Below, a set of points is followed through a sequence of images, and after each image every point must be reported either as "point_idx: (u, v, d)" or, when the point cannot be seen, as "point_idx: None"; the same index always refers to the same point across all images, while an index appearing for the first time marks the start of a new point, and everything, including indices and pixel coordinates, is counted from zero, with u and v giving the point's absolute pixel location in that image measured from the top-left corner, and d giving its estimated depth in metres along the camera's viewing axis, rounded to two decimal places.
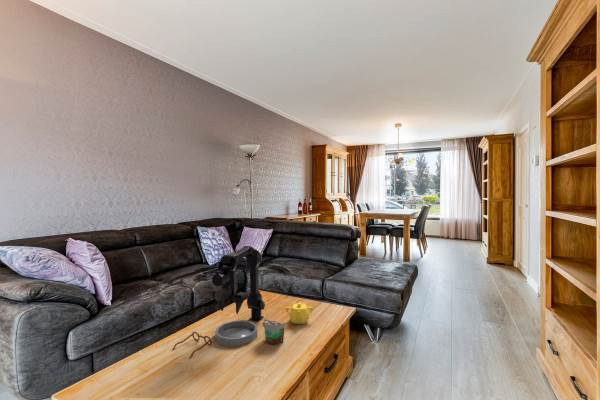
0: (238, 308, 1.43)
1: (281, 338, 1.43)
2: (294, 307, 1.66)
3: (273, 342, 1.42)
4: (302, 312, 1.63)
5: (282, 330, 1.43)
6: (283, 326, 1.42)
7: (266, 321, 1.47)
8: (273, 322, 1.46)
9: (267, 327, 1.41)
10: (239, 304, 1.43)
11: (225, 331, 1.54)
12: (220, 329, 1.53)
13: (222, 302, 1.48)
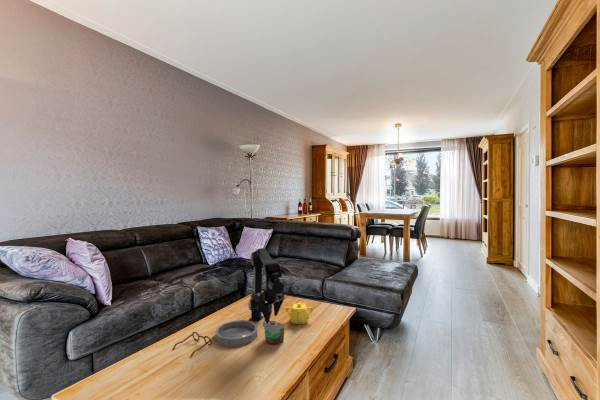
0: (265, 318, 1.39)
1: (281, 338, 1.43)
2: (294, 307, 1.66)
3: (273, 342, 1.42)
4: (302, 312, 1.63)
5: (282, 330, 1.43)
6: (283, 326, 1.42)
7: None
8: (273, 322, 1.46)
9: (267, 327, 1.41)
10: (266, 314, 1.38)
11: (225, 331, 1.54)
12: (220, 329, 1.53)
13: (276, 308, 1.48)
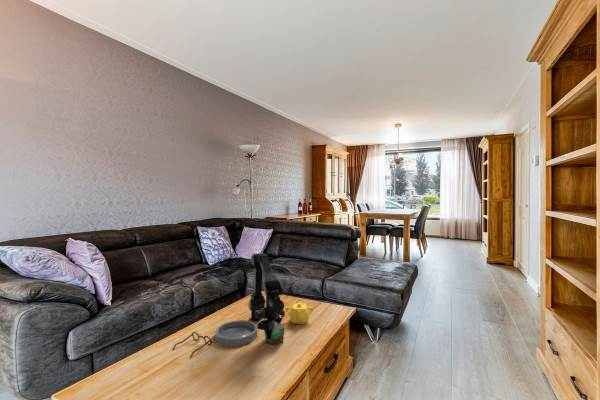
0: (267, 334, 1.40)
1: (281, 338, 1.43)
2: (294, 307, 1.66)
3: (273, 342, 1.42)
4: (302, 312, 1.63)
5: (282, 330, 1.43)
6: (283, 326, 1.42)
7: None
8: (273, 322, 1.46)
9: None
10: (268, 331, 1.40)
11: (225, 331, 1.54)
12: (220, 329, 1.53)
13: None
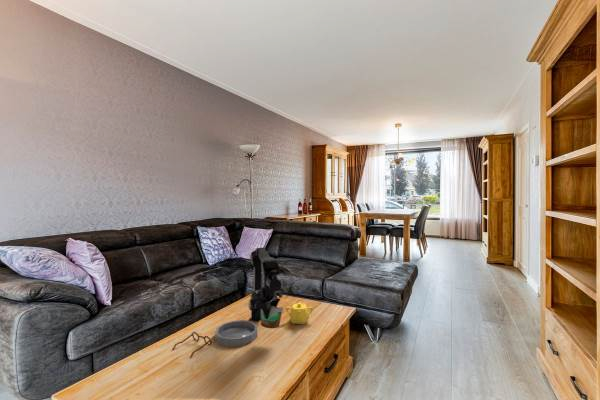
0: (265, 314, 1.41)
1: (278, 322, 1.43)
2: (294, 307, 1.66)
3: (270, 325, 1.41)
4: (302, 312, 1.63)
5: (279, 314, 1.44)
6: (281, 310, 1.43)
7: None
8: (270, 305, 1.46)
9: None
10: (265, 310, 1.40)
11: (225, 331, 1.54)
12: (220, 329, 1.53)
13: None
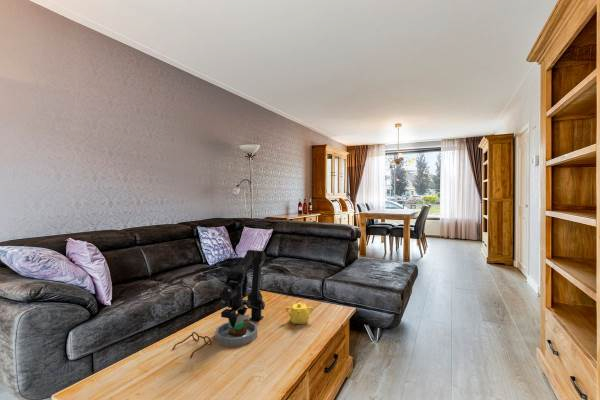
0: (231, 322, 1.47)
1: (244, 329, 1.50)
2: (294, 307, 1.66)
3: (236, 333, 1.48)
4: (302, 312, 1.63)
5: (245, 322, 1.50)
6: (247, 317, 1.50)
7: None
8: (237, 314, 1.53)
9: None
10: (232, 319, 1.47)
11: (225, 331, 1.54)
12: (220, 329, 1.53)
13: None
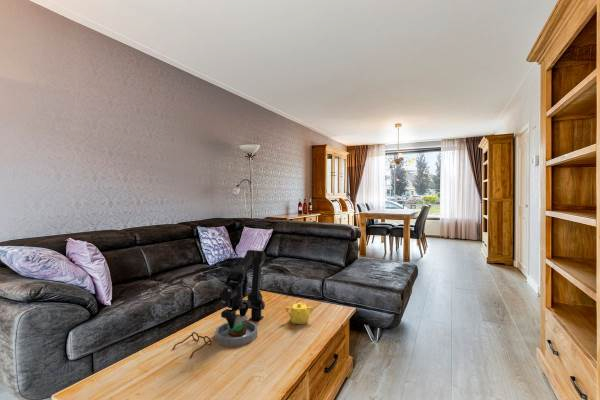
0: (229, 324, 1.46)
1: (243, 330, 1.50)
2: (294, 307, 1.66)
3: (236, 334, 1.48)
4: (302, 312, 1.63)
5: (244, 322, 1.50)
6: (245, 318, 1.49)
7: None
8: (235, 315, 1.52)
9: None
10: (230, 320, 1.45)
11: (225, 331, 1.54)
12: (220, 329, 1.53)
13: (242, 314, 1.55)
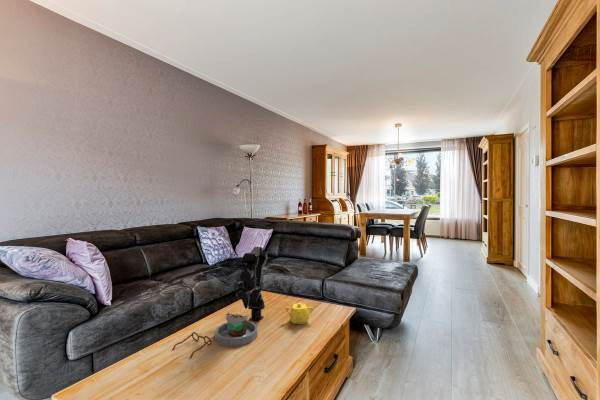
0: (244, 303, 1.53)
1: (243, 330, 1.50)
2: (294, 307, 1.66)
3: (236, 334, 1.48)
4: (302, 312, 1.63)
5: (244, 322, 1.50)
6: (245, 318, 1.49)
7: (229, 315, 1.53)
8: (235, 315, 1.52)
9: (230, 320, 1.47)
10: (245, 300, 1.53)
11: (225, 331, 1.54)
12: (220, 329, 1.53)
13: (255, 295, 1.62)
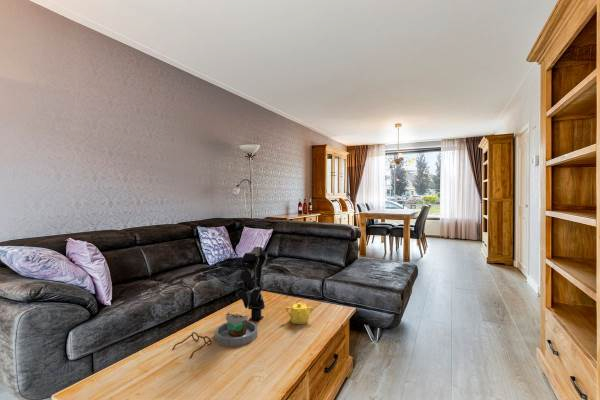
0: (244, 303, 1.53)
1: (243, 330, 1.50)
2: (294, 307, 1.66)
3: (236, 334, 1.48)
4: (302, 312, 1.63)
5: (244, 322, 1.50)
6: (245, 318, 1.49)
7: (229, 315, 1.53)
8: (235, 315, 1.52)
9: (230, 320, 1.47)
10: (245, 300, 1.53)
11: (225, 331, 1.54)
12: (220, 329, 1.53)
13: (255, 295, 1.62)
